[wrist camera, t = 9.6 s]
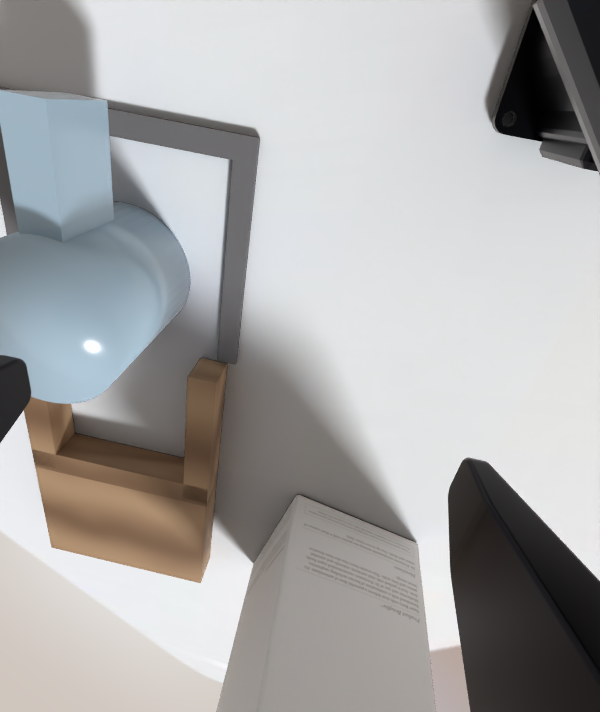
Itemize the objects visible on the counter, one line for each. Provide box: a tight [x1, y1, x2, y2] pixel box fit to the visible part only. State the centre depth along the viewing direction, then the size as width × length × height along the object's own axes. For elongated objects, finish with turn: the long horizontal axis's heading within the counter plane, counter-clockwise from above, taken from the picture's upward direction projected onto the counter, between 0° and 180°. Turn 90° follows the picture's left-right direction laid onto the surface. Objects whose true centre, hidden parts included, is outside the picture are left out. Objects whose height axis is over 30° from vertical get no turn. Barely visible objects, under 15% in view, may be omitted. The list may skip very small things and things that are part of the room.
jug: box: [0, 90, 190, 404], centre depth 18 cm, size 11×6×7 cm, turn 171°
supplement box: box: [216, 495, 436, 712], centre depth 24 cm, size 9×9×15 cm
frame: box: [0, 87, 260, 364], centre depth 21 cm, size 11×12×1 cm
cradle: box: [24, 358, 227, 583], centre depth 28 cm, size 17×11×2 cm, turn 171°
